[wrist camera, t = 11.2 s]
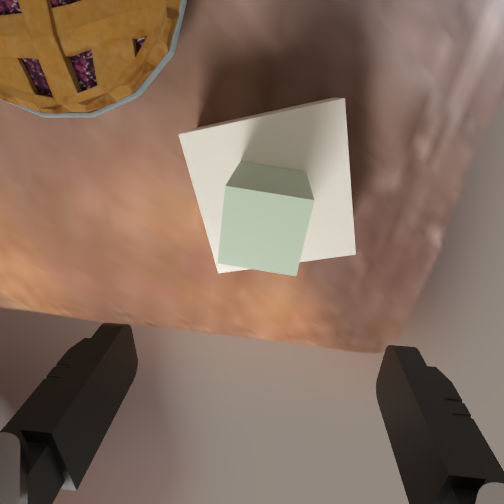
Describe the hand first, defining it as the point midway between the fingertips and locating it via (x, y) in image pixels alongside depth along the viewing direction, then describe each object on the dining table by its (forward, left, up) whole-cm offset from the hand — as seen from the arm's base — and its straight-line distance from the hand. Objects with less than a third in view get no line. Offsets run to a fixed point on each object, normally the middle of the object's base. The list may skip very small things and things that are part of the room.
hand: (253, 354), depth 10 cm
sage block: (0, 0, -17) cm, 17 cm away
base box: (0, 0, -23) cm, 23 cm away
